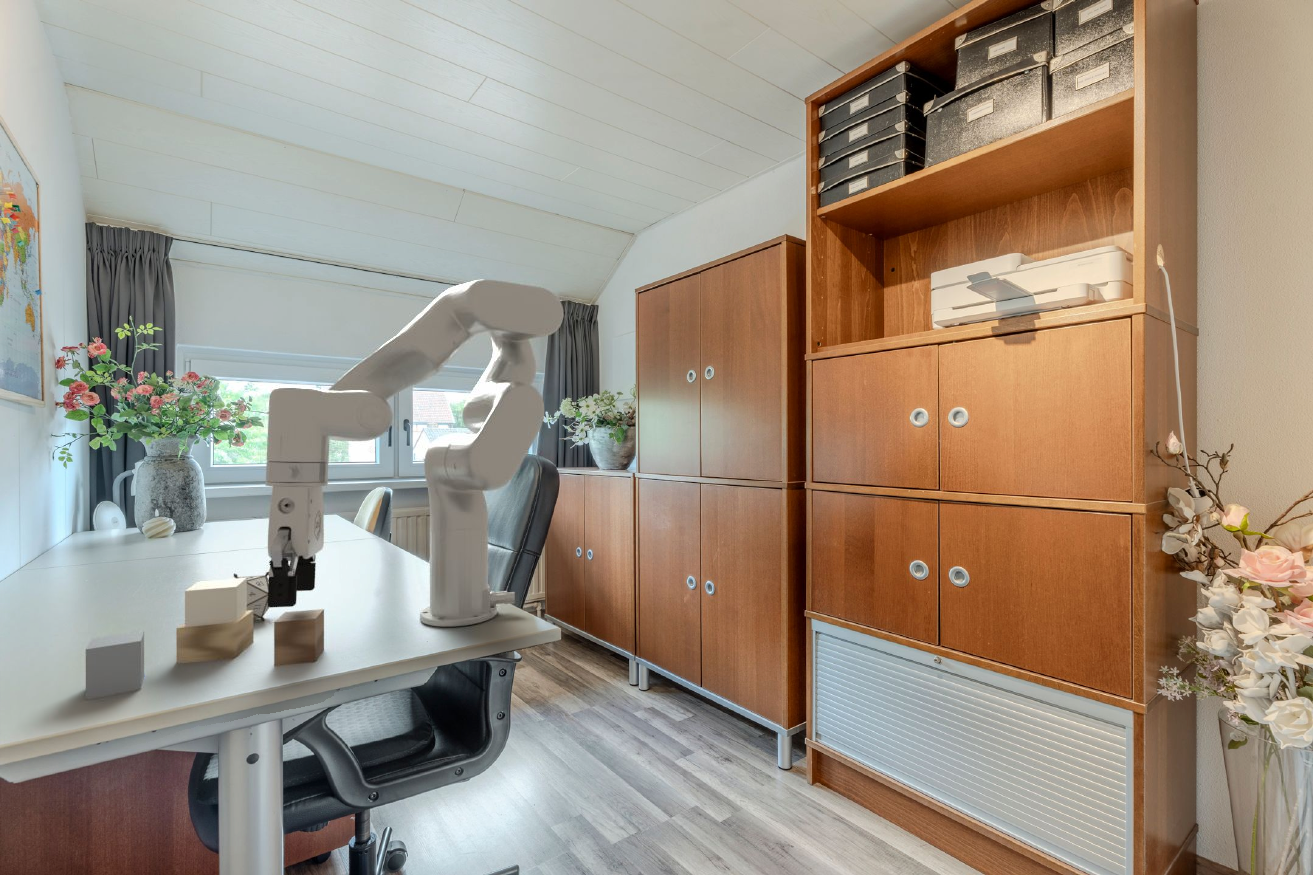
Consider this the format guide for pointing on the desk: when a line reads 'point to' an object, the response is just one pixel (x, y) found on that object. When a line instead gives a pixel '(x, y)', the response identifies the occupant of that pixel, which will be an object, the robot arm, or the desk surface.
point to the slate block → (114, 664)
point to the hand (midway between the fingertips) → (292, 597)
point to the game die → (257, 595)
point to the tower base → (214, 640)
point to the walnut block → (298, 637)
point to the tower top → (215, 602)
